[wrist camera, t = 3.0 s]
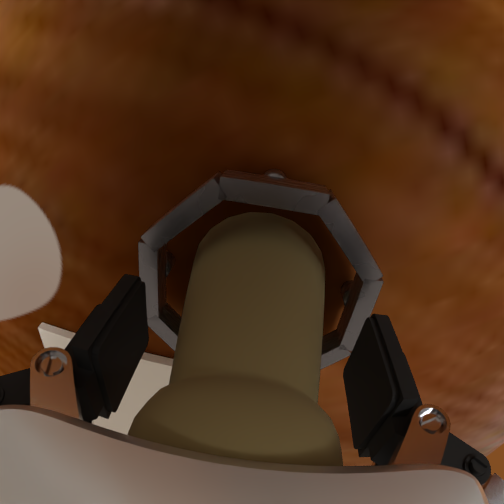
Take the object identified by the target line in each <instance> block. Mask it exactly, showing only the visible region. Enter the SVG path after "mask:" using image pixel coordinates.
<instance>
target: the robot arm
mask: <svg viewBox="0 0 504 504" xmlns="http://www.w3.org/2000/svg"><path fill="white" fill-rule="evenodd" d="M148 340H149V335H148V322H147V306H146V286H145V282H143V281H141V278H140V277H138V276H133V275H128V274H125V275H124V276H123V277H122V278H121V279H120V281H119V282H118V283H117V284H116V286H115V287H114V288H113V290H112V291H111V292H110V293H109V295H108V296H107V297H106V299H105V300H104V301H103V303H102V304H99V305H97V306H96V307H95V308H94V310H93V311H92V312H91V314H90V315H89V316H88V318H87V319H86V320H85V322H84V323H83V324H82V326H81V327H80V328H79V330H78V331H77V332H76V334H75V335H74V337H73V338H72V339H71V341H70V342H69V344H68V345H67V346H66V348H65V349H62V348H58V347H49V348H45V349H42V350H41V351H39V352H38V353H36V354H35V355H34V357H33V358H32V360H31V365H30V368H29V369H25V370H22V371H18V372H14V373H11V374H7V375H3V376H0V504H504V480H502V479H501V478H500V477H499V476H498V475H497V474H496V473H494V474H493V475H491V466H490V464H489V461H488V460H487V458H486V457H485V456H484V455H483V454H481V453H480V452H478V451H477V450H475V449H474V448H472V447H471V446H469V445H468V444H466V443H465V442H463V441H462V440H460V439H459V438H457V437H456V436H454V435H453V434H451V433H450V432H449V431H450V420H449V417H448V416H447V414H446V413H445V412H444V411H443V410H442V409H441V408H439V407H438V406H435V405H432V404H424V405H423V404H422V401H421V398H420V395H419V392H418V390H417V387H416V384H415V381H414V378H413V376H412V373H411V370H410V367H409V365H408V362H407V359H406V357H405V355H404V353H403V352H402V349H401V346H400V344H399V341H398V339H397V336H396V334H395V331H394V329H393V326H392V324H391V321H390V319H389V317H388V316H387V315H379V314H372V315H371V317H367V318H366V320H365V322H364V325H363V327H362V329H361V332H360V334H359V336H358V339H357V341H356V343H355V346H354V348H353V350H352V352H351V355H350V357H349V359H348V361H347V363H346V366H345V368H344V372H343V378H344V384H345V390H346V396H347V403H348V410H349V416H350V423H351V430H352V438H353V445H354V448H355V449H358V453H359V457H371V460H372V461H373V463H372V465H371V466H309V465H292V464H279V463H268V462H258V461H250V460H242V459H235V458H228V457H222V456H216V455H210V454H205V453H199V452H194V451H189V450H185V449H180V448H175V447H171V446H167V445H163V444H159V443H155V442H151V441H147V440H143V439H140V438H136V437H133V436H129V435H126V434H123V433H119V432H116V431H113V430H110V429H106V428H103V427H100V426H97V425H94V421H93V420H95V419H97V418H98V416H100V417H103V418H106V419H109V417H110V415H111V412H114V413H115V412H116V411H117V410H118V407H119V405H120V403H121V401H122V398H123V396H124V394H125V392H126V390H127V388H128V385H129V383H130V381H131V379H132V377H133V375H134V372H135V370H136V368H137V366H138V364H139V362H140V360H141V358H142V356H143V353H144V351H145V349H146V347H147V345H148Z"/></svg>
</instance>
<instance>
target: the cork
mask: <svg viewBox="0 0 504 504" xmlns="http://www.w3.org/2000/svg"><path fill="white" fill-rule="evenodd" d="M324 296H325V266H324V261H323V257H322V252H321V250H320V249H319V247H318V245H317V244H316V242H315V241H314V239H313V238H312V236H311V234H309V233H308V232H307V231H306V230H304V229H303V228H302V227H300V226H299V225H298V224H297V223H295V222H294V221H292V220H289V219H287V218H284V217H281V216H279V215H276V214H273V213H259V212H248V213H244V214H240V215H236V216H232V217H228V218H227V219H225V220H224V221H222V222H220V223H219V224H217V225H216V226H214V227H213V228H211V229H210V230H209V232H208V233H207V234H206V236H205V237H204V238H203V239H202V241H201V242H200V243H199V245H198V249H197V252H196V255H195V259H194V262H193V266H192V271H191V275H190V280H189V284H188V289H187V294H186V298H185V303H184V308H183V313H182V318H181V323H180V328H179V333H178V338H177V343H176V348H175V354H174V359H173V364H172V370H171V375H170V381H169V385H167V386H165V387H163V388H161V389H160V390H158V391H157V392H156V393H155V394H154V395H153V396H152V397H151V398H150V399H149V400H148V401H147V402H146V404H145V405H144V406H143V407H142V408H141V410H140V411H139V412H138V413H137V415H136V416H135V417H134V419H133V422H132V424H131V427H130V429H129V431H128V434H127V435H129V436H133V437H136V438H140V439H143V440H147V441H151V442H155V443H159V444H163V445H167V446H171V447H175V448H180V449H185V450H189V451H194V452H199V453H205V454H210V455H216V456H222V457H228V458H235V459H242V460H250V461H258V462H268V463H279V464H292V465H309V466H343V461H342V452H341V446H340V441H339V436H338V434H337V432H336V429H335V427H334V425H333V423H332V420H331V418H330V417H329V416H328V415H327V414H326V413H325V412H324V410H323V409H322V408H321V407H320V406H319V405H318V404H317V402H318V392H319V380H320V367H321V353H322V337H323V319H324Z"/></svg>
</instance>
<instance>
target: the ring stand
mask: <svg viewBox="0 0 504 504" xmlns="http://www.w3.org/2000/svg"><path fill="white" fill-rule="evenodd" d="M223 200H228V201H234V202H241V203H247V204H254V205H260V206H266V207H273V208H279V209H285V210H291V211H296V212H302V213H308V214H314V215H319V216H320V217H321V219H322V220H323V222H324V223H325V225H326V226H327V228H328V229H329V231H330V232H331V234H332V235H333V237H334V238H335V240H336V241H337V243H338V244H339V246H340V247H341V249H342V250H343V252H344V253H345V255H346V256H347V258H348V259H349V261H350V262H351V264H352V266H353V267H354V269H355V270H356V274H355V278H354V280H351V281H348V282H346V283H344V284H343V286H342V287H341V294H342V298H343V301H344V305H345V307H344V310H343V313H342V315H341V318H340V321H339V324H338V326H337V329H336V330H334V331H332V332H330V333H328V334H326V335H324V336H323V337H322V353H321V367H320V369H323V368H325V367H327V366H329V365H331V364H333V363H335V362H337V361H339V360H341V359H343V358H345V357H347V356H349V355H351V351H352V350H353V348H354V346H355V343H356V341H357V339H358V336H359V334H360V332H361V329H362V327H363V325H364V322H365V320H366V318H367V317H370V315H371V313H372V310H373V308H374V305H375V303H376V300H377V298H378V295H379V292H380V290H381V287H382V284H383V280H382V278H381V277H383V275H382V273H381V271H380V269H379V267H378V265H377V263H376V261H375V260H374V258H373V256H372V255H371V253H370V251H369V250H368V248H367V246H366V245H365V243H364V241H363V240H362V238H361V236H360V235H359V233H358V231H357V230H356V228H355V227H354V225H353V223H352V222H351V220H350V219H349V217H348V215H347V214H346V212H345V211H344V209H343V208H342V206H341V204H340V203H339V201H338V200H337V198H336V197H335V195H334V194H333V192H332V191H331V189H330V190H329V191H328V190H327V188H326V187H325V186H324V185H319V184H314V183H308V182H303V181H297V180H291V179H287V177H286V175H285V174H284V172H282V171H281V170H279V169H270V170H268V171H266V172H265V174H264V175H261V174H255V173H248V172H241V171H234V170H227V169H226V170H225V171H224V173H223V174H221V172H220V171H219V172H218V173H216V174H215V175H214V176H212V177H211V178H210V179H209V180H207V181H206V182H205V183H203V184H202V185H201V186H200V187H198V188H197V189H196V190H194V191H193V192H192V193H191V194H189V195H188V196H187V197H186V198H184V199H183V200H182V201H181V202H179V203H178V204H177V205H176V206H174V207H173V208H172V209H171V210H170V211H168V212H167V213H166V214H165V215H163V216H162V217H161V218H160V219H159V220H157V221H156V222H155V223H154V224H153V225H151V227H150V228H149V229H148V230H147V231H146V232H145V233H144V234H143V235H142V236H141V238H142V239H141V240H140V241H139V242H138V250H139V277H140V278H141V281H143V282H145V286H146V306H147V322H148V326H149V327H150V328H151V329H152V330H153V331H154V332H155V333H156V334H157V335H158V336H159V337H160V338H161V339H162V340H163V341H165V342H166V343H167V344H168V345H169V346H170V347H171V348H172V349H173V350H174V351H175V348H176V343H177V338H178V333H179V328H180V323H181V317H180V316H179V315H178V314H177V313H176V312H175V310H174V309H173V308H172V307H171V306H170V305H169V304H168V303H167V302H166V277H167V276H168V274H169V273H170V271H171V269H172V268H173V266H174V264H175V258H174V256H173V255H172V254H171V253H170V252H169V251H167V242H168V241H170V240H171V239H172V238H174V237H175V236H176V235H177V234H179V233H180V232H181V231H183V230H184V229H185V228H187V227H188V226H189V225H191V224H192V223H193V222H195V221H196V220H197V219H199V218H200V217H201V216H203V215H204V214H205V213H207V212H208V211H209V210H211V209H212V208H213V207H215V206H216V205H217V204H219V203H220V202H221V201H223Z"/></svg>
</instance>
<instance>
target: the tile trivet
mask: <svg viewBox="0 0 504 504" xmlns="http://www.w3.org/2000/svg"><path fill="white" fill-rule="evenodd" d="M38 330H39V333H40V336H41V339H42V342H43V345H44V348H49V347H58V348H62V349H65V348H66V346H67V345H68V344H69V342H70V341H71V339H72V338H73V337H74V335H75V334H76V333H73V332H70V331H67V330H64V329H61V328H58V327H55V326H52V325H49V324H46V323H43V322H42V323H41V324H40V326H39V327H38ZM172 364H173V359H171V358H167V357H162V356H158V355H154V354H150V353H145V352H144V353H143V356H142V358H141V360H140V362H139V364H138V366H137V368H136V370H135V372H134V375H133V377H132V379H131V381H130V383H129V385H128V388H127V390H126V392H125V394H124V396H123V398H122V401H121V403H120V405H119V407H118V410H117V411H116V412H115V413H114V412H111V415H110V417H109V419H106V418H103V417H100V416H98V418H97V419H95V420H93V421H94V425H97V426H100V427H103V428H106V429H110V430H113V431H116V432H119V433H123V434H126V435H127V434H128V431H129V429H130V427H131V424H132V422H133V419H134V417H135V416H136V415H137V413H138V412H139V411H140V410H141V408H142V407H143V406H144V405H145V404H146V402H147V401H148V400H149V399H150V398H151V397H152V396H153V395H154V394H155V393H156V392H157V391H158V390H160V389H161V388H163V387H165V386H167V385H169V381H170V375H171V370H172Z"/></svg>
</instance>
